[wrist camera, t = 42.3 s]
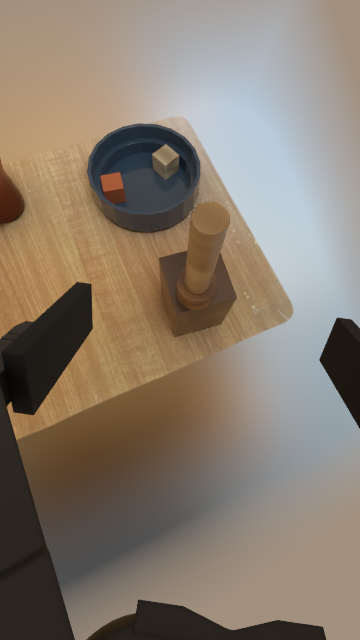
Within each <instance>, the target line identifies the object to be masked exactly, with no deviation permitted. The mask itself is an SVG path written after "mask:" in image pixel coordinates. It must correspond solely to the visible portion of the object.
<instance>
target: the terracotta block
mask: <svg viewBox="0 0 360 640" xmlns="http://www.w3.org/2000/svg"><path fill="white" fill-rule="evenodd" d="M100 178H101V182H102V187H103V192H104V195H105V197H106V199H107V200H108V201H110V202H111V203H113V204H117V203H122V202H126V197H125V192H124V187H123V183H122V179H121V175H120V172H118V173H113V174H107V175H101V176H100Z"/></svg>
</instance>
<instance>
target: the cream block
mask: <svg viewBox="0 0 360 640" xmlns="http://www.w3.org/2000/svg"><path fill="white" fill-rule="evenodd" d="M152 160H153V170H155V171H156V172H157V173H158V174H159V175H160V176H161V177H163V178H164V179H165V180H166V179H168V178H169V177H170V176H172V175H173V174H174V173H176V172H177V171H178V170H179V155H178V154H177V153H176V152H175V151H174V150H173V149H171V148H170V147H169V146H168V145H167V144H165V145H164V146H163V147H161V148H160V149H159V150H157V151H156V152H154V153H153V154H152Z"/></svg>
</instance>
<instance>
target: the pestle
mask: <svg viewBox="0 0 360 640" xmlns="http://www.w3.org/2000/svg"><path fill="white" fill-rule="evenodd" d="M229 223H230V217H229V213H228V211H227V210H226V209H225V208H224V207H223V206H222V205H220V204H218V203H215V202H204V203H201V204H199V205H198V206H196V207H195V208H194V210H193V212H192V214H191V222H190V231H189V241H188V250H187V260H186V267H184V268H183V269H182V270H181V271H180V272H179V274H178V276H177V282H176V295H177V298H178V300H179V302H180V303H181V304H182V305H183V306H184V307H186V308H188V309H192V310H199V309H203V308H205V307H207V306H208V305H209V304H210V303H211V302H212V300H213V298H214V295H215V292H216V290H217V286H218V281H217V277H216V275H215V273H214V270H215V267H216V264H217V261H218V258H219V254H220V251H221V248H222V245H223V242H224V239H225V235H226V232H227V229H228V226H229Z"/></svg>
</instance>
